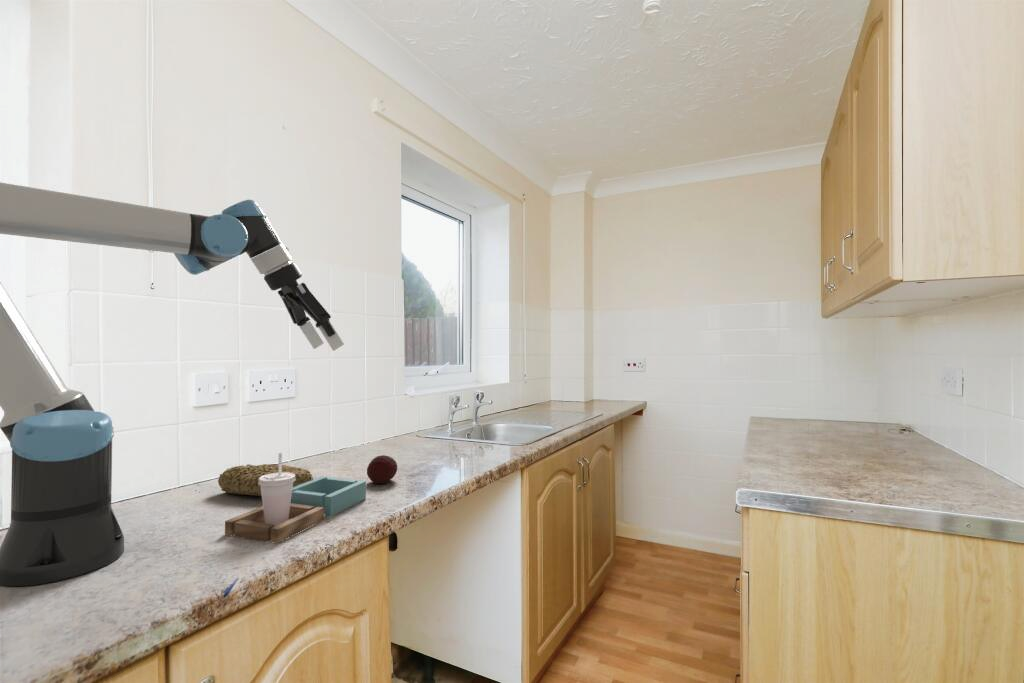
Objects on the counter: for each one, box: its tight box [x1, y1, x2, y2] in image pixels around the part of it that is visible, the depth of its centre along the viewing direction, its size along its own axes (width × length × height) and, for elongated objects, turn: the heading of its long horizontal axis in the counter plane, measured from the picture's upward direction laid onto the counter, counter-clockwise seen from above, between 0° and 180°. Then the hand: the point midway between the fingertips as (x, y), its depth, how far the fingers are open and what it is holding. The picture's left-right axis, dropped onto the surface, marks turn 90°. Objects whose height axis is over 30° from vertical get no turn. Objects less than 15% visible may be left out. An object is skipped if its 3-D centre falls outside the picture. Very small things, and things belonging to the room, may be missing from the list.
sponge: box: [217, 463, 314, 497], centre depth 113 cm, size 13×8×20 cm
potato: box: [366, 454, 398, 485], centre depth 123 cm, size 7×8×7 cm
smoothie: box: [258, 452, 295, 527], centre depth 92 cm, size 6×6×14 cm
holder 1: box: [224, 503, 325, 544], centre depth 92 cm, size 12×12×2 cm
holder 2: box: [291, 476, 367, 517], centre depth 106 cm, size 12×12×4 cm
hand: (328, 346), depth 117 cm, fingers open, 13 cm apart
